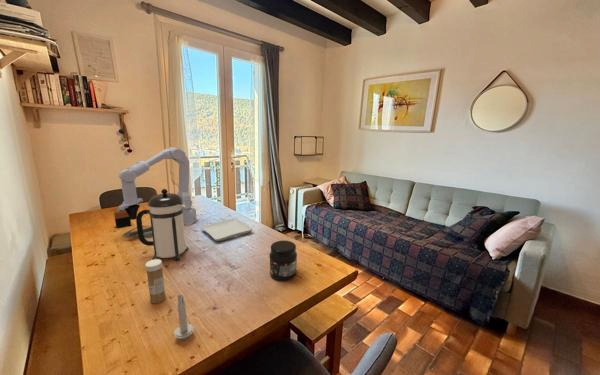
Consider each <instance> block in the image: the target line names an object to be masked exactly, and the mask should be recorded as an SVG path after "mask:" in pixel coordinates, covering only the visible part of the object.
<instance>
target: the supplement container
mask: <svg viewBox="0 0 600 375" xmlns="http://www.w3.org/2000/svg"><path fill="white" fill-rule="evenodd" d="M297 260H298V253H297V245H296V243H294V242H292V241H291V240H290V241H289V240H278V241H275V242H273V243H272V244H271V245H270V252H269V274H270V277H272V278H273V279H275V280H277V281H281V282H282V281H284V282H285V281H289V280H291V279H293V278H294V277H295V276H296V275H297V273H298V272H297V271H298V270H297V268H298V267H297V263H298V262H297Z"/></svg>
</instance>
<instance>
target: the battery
mask: <svg viewBox="0 0 600 375" xmlns="http://www.w3.org/2000/svg"><path fill="white" fill-rule="evenodd" d="M113 215H114V223H115V227H116V228H117V229H122V228H127V226H128V227H131V226H132V221H131V219H130V217H129V215H128V213H127V212H126V211H125V210H119V209H115V210H114V211H113Z"/></svg>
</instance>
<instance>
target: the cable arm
mask: <svg viewBox="0 0 600 375" xmlns="http://www.w3.org/2000/svg"><path fill="white" fill-rule="evenodd" d="M148 226H149V227H145V228H143V233H145V232H149V231H152V228H151V225H148ZM126 233H127V235H128V236H129V237H128V238H132V237H131V236H135V235H138V231H137V230H134V231H131V232H128V231H127V232H126Z"/></svg>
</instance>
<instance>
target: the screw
mask: <svg viewBox="0 0 600 375" xmlns="http://www.w3.org/2000/svg"><path fill="white" fill-rule="evenodd" d="M184 299H185V298H184V295H183V294H179V295H177V303H178V304H177V312H178V313H177V314H178V322H179V323H178V324H179V326H178V327H176V329H174V332H173V336H174V338H176V339H179V341H183V342H184V341H186V340H188V339H190V336H191V335H192V334H193V333H194V331H195V326H194V325H193V324H191V323H188V319H187V309H186V308H187V307H186V302H185V300H184Z"/></svg>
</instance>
